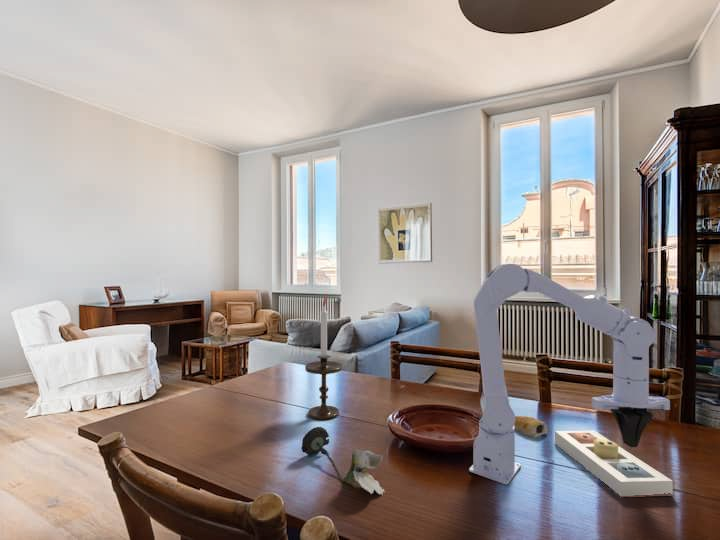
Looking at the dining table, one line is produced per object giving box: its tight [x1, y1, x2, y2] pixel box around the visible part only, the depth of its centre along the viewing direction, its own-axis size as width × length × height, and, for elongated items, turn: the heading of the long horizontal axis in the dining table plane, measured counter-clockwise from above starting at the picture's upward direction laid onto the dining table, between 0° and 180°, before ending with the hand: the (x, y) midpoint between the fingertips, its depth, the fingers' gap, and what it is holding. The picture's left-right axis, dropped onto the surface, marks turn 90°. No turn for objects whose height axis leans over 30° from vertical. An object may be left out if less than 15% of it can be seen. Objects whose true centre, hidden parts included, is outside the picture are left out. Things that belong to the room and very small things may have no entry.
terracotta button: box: [574, 433, 596, 444], centre depth 87 cm, size 4×4×3 cm
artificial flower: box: [301, 426, 386, 495], centre depth 78 cm, size 9×22×10 cm, turn 35°
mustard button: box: [594, 439, 619, 459], centre depth 80 cm, size 4×4×3 cm
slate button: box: [617, 463, 645, 478], centre depth 73 cm, size 4×4×3 cm
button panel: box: [554, 430, 674, 496], centre depth 80 cm, size 22×10×3 cm, turn 2°
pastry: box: [514, 415, 548, 438], centre depth 99 cm, size 9×7×4 cm
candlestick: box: [305, 296, 343, 421], centre depth 110 cm, size 11×11×35 cm
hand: (630, 444), depth 73 cm, fingers closed
